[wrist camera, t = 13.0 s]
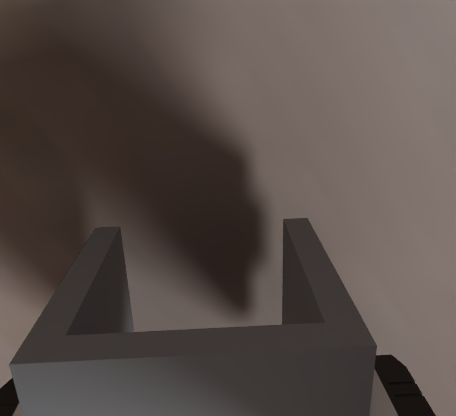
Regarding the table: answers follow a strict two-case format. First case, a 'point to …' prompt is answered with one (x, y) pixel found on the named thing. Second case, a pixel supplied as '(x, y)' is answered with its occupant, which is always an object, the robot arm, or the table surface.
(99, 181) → the table surface
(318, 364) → the box
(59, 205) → the table surface
